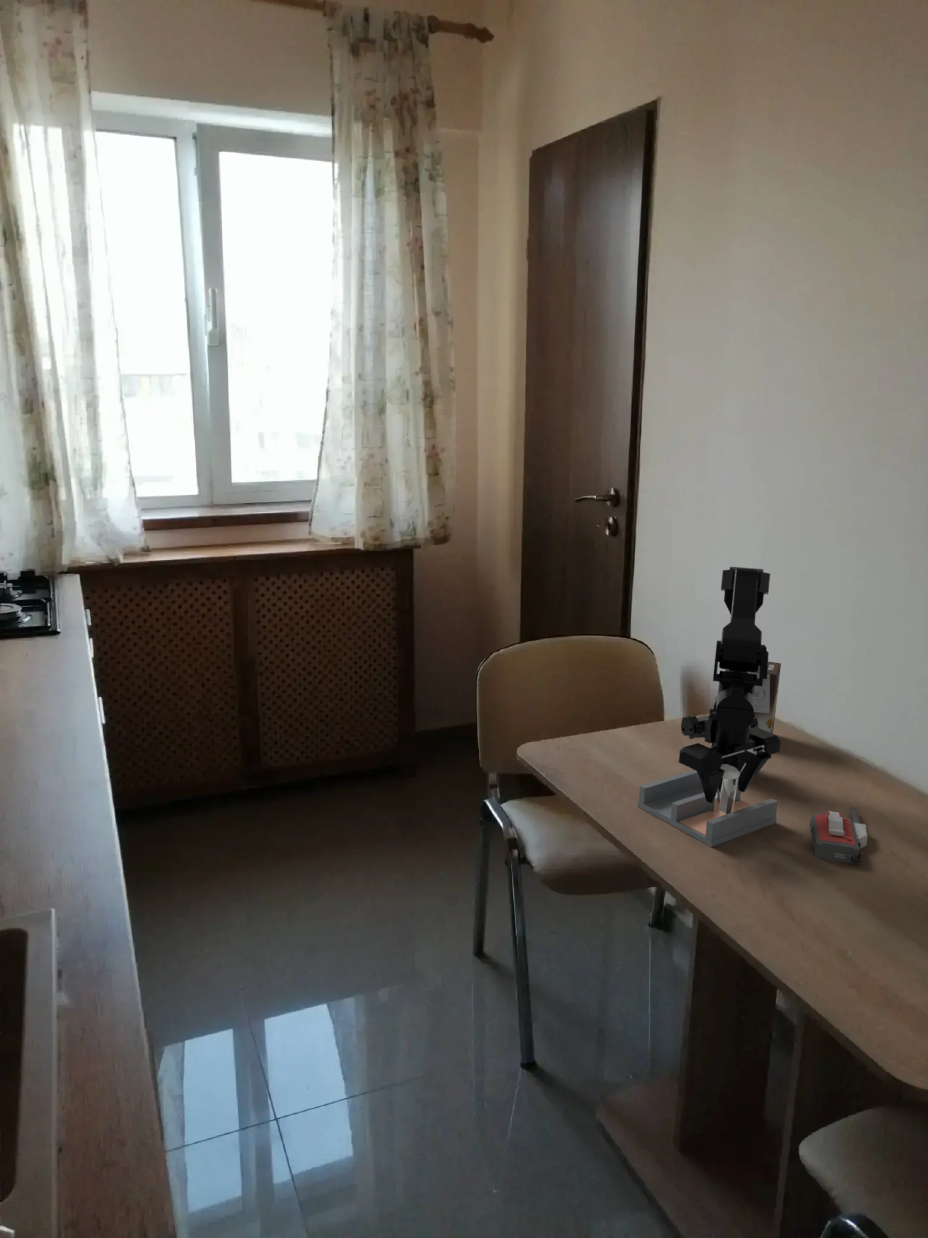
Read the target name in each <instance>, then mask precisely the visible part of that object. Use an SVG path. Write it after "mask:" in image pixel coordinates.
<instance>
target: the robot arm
mask: <svg viewBox="0 0 928 1238" xmlns="http://www.w3.org/2000/svg"><path fill="white" fill-rule="evenodd" d="M770 580H771V573H769V572H764V568H752V567H739V566H729V569H723V570H722V574H721V583H720V584H721V586H720V591H721V592H722V591H723V592H724V596H723V602H724V604H725V606H726V608H727V609H728V612H729V614H730V621H729V623H727V624H726V625H725V626H724V627H722V632H721V638H720V639H721V640H716V647H715V656H714V665H713V667H714V668H713V676H712V682H718V688H717V695H716V696H715V698H714V703H713V708H709V714H708V715H705V716H698V717H697V716H696V715H692V716H691V715H687V716H683V717H682V718H681V723H680V729H681V730H680V731H681V734H682V735H683V736H686V737H687V736H688V739H689V740H693V739H696V738H697V739H699V738H700V739H701V738H702V739H703V738H704V742H705V743H707V744H711V746H710V747H709V746H706V745H705V744H704V745H703V744H701V743H699V742H697V743H693V744H690V745H687V746H683V747H681V749H679V754H678V755H679V756H678V763H679V764H681V765H683V766H685V767H687V768H690V769H691V770H696V771H697V773H698V775H699V778H700V780H701V784H702V787H703V791H704V794H705V798H706V801H707V802H709V803H712V802H713V801H714V798H715V796H716V794H717V791H718V788H719V785H720V783H721V780H722V777H723V775H724V772H725V770H723V769H720V767H721V766H722V764H728V765H730V766H733V767H735V768H736V769H737V770H738V771H739V773H740V771H741V770H742V768H743V766H744V765H745V763H746V765H745V767H744V768H743V770H742V771H741V773H740V776H739V781H738V790H739V791H741V793H745V792H746V791H747V789H748V788H749V787H750V785H751V784H752V782H753V780H755V777H756V776H757V775H758V773H759V772H760V771H761V770H762V768H763V766H765V764H766V763H767V762H768V760H770V759H772V755H773V754H776V753H779V752H780V747H781V741H780V739H779V737H778V735H777V734H775V733H774V732H773V733H770V732H768V731H765V730H762V729H760V728H757V727H758V721H757V718H756V717H755V714H754V692H755V686H762V684H763V679H767V670H768V662H769V651H768V650H767V646H766V644H762V639H763V637H762V636H763V635H762V634H763V632H762V630H761V628H759V627H758V626H757V625H756V615H757V612H758V611H759V610H760V609H761V608H762V606H763V605H764V597H765V595H769V592H770V591H769V590H770ZM759 666H760V672H759V678H757V674H749V672H758V668H759ZM718 668H719V669H720V670H719V673H718Z"/></svg>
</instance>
